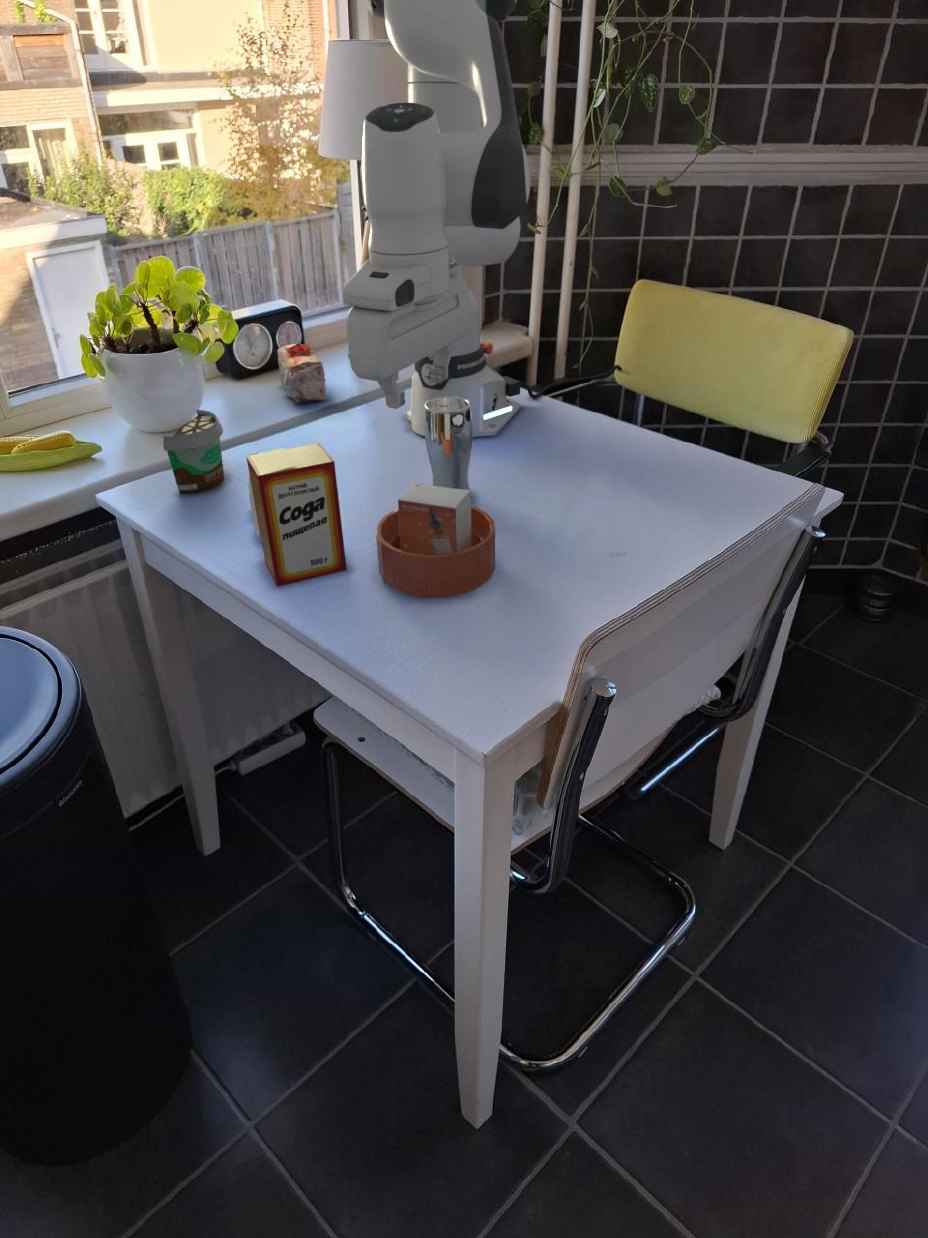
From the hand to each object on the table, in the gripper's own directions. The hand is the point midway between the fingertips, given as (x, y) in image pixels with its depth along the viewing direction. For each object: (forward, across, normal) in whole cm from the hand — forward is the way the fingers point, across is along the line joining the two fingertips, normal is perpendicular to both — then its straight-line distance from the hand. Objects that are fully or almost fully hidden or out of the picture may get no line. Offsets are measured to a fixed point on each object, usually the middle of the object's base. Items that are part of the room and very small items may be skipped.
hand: (418, 393), depth 105 cm
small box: (+23, +2, +3) cm, 23 cm away
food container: (+23, -3, -44) cm, 50 cm away
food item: (+24, -42, -58) cm, 75 cm away
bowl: (+23, +2, +3) cm, 23 cm away
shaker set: (+23, +4, -25) cm, 34 cm away
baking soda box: (+23, +10, -13) cm, 29 cm away
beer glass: (+24, -17, -7) cm, 30 cm away
